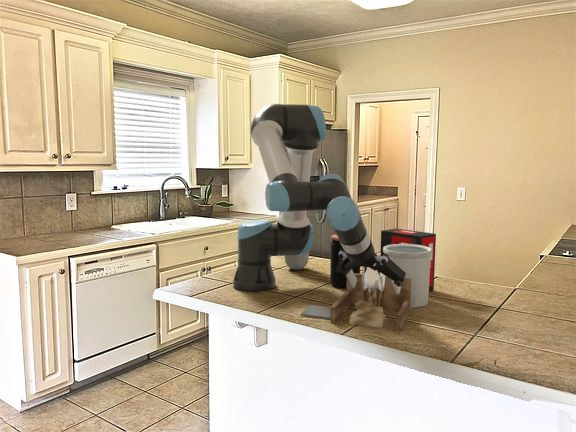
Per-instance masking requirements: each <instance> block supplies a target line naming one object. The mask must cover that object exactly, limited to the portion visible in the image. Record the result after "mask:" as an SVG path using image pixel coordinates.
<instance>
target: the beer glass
mask: <svg viewBox="0 0 576 432" xmlns="http://www.w3.org/2000/svg"><path fill="white" fill-rule="evenodd" d="M375 264H376V263H375ZM375 264H374V266H375ZM361 270H362V272H361V274H362V288H363V295H364V301H367V302H372V303H373V307H383V297H384V293H385V287H386V276H385V275H383V274H382V273H380V272H379V271H377V270H376V271H374V270H373V269H371V268H368V267H362V269H361ZM383 315H385V313H384V312H383Z"/></svg>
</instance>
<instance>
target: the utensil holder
mask: <svg viewBox="0 0 576 432" xmlns="http://www.w3.org/2000/svg"><path fill="white" fill-rule="evenodd" d="M383 252H384V253H385V254H387V255H388V257H389V258H390V259H391V260H392V261H393V262H394V263H395V264H396V265H397V266H399V267H400V268H401V269H402V270H403V271H404V272H405V273H406V275H405V278H410V279H411V307H410V309H414V308H422V307H425V306H427V305H428V303H429V297H430V295H429V294H430V292H429V277H430V255H431V253H432V250H431V248H429V247H426V246H421V245H414V244H392V245H387V246H384V247H383Z"/></svg>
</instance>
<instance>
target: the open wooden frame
mask: <svg viewBox="0 0 576 432" xmlns="http://www.w3.org/2000/svg"><path fill="white" fill-rule="evenodd" d="M354 274H355V276H356V278H357V282H356V285H355V288H353V287H352V286H351V284H350V282H349V280H348V279H347V289H346V291H345V292H344V293H343V294H342V295H341V296H340V297H339V298H338V299H337V300H336V301H335V302H334V303H333V304H332V305H331V306H330V307H331V319H330V323H332V324H335V323H337V322H338V320H339V319H340V318H341V316H342V315H343V314H344V313H345V312H346V311H347V310H348V308H350V306H353V307H355V303H356V302H358V301H360V300H362V301H364V295H363V288H362V273H360V274H356V273H354ZM410 307H411V279H410V278H404V281H403V282H402V283H401V289H400V293H399V295H398V294H396V292H395V290H394V287H393V285H392V280H391V279H390V278H388V277H387V276H386V287H385V293H384V297H383V310H387V311H395V312H398V313H397V315H396V317H397V318H396V332H398V333H402V331H403V329H404V327H405V324H406V323H407V320H408V317H409V315H410V313H411V308H410Z"/></svg>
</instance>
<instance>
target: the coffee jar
mask: <svg viewBox="0 0 576 432" xmlns="http://www.w3.org/2000/svg"><path fill="white" fill-rule="evenodd" d="M330 239H331V242H330V267H329V268H330V269H329V270H330V279H329V282H330V284H331V286H332V287H333V288H337V289H343V290H344V289H345V290H347V279H346V278H345V276H344V274H342V272H339V273H337V272H336V268H337V265H338V262H339V259H338V255H339V252H340V250H341V249H343V247H342V245H341V243H340V241H339V239H338V236H337V235H336V233H335V234H332V235H331V236H330ZM349 261H350V260H349V259H348V258H347V257H346V259H345V260H344V262H343V265H342V266H345V264H347V263H348V262H349ZM352 270H353V272H354V273H356V274H361V266H359V265H358V266H356V267H355V268H352Z"/></svg>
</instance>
